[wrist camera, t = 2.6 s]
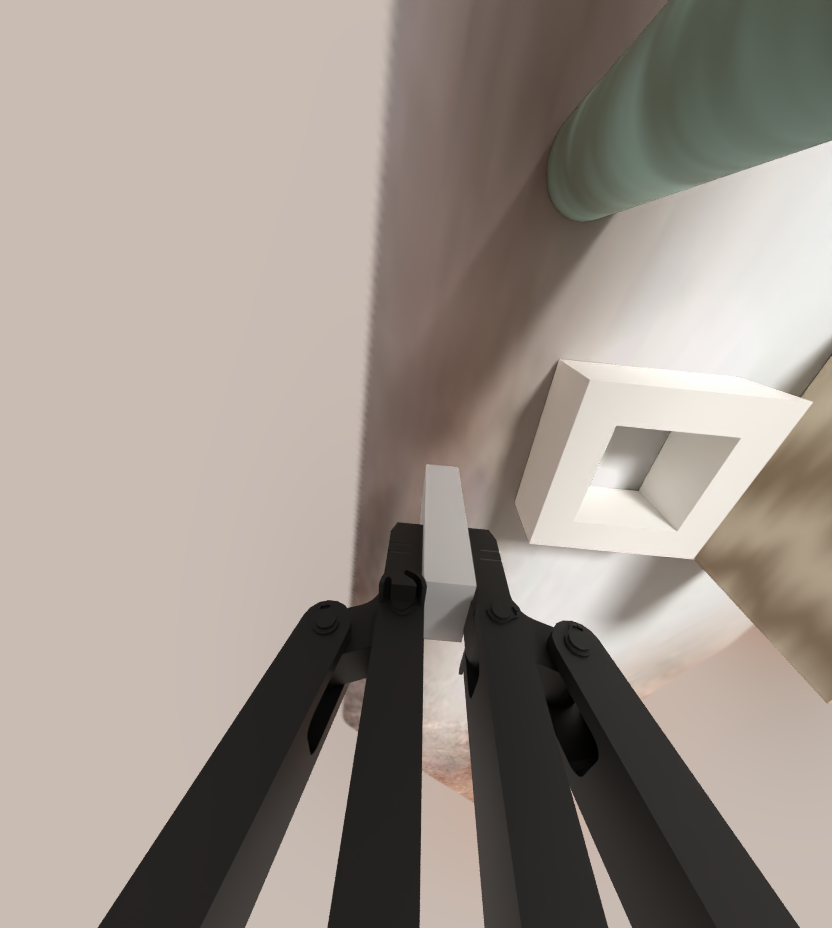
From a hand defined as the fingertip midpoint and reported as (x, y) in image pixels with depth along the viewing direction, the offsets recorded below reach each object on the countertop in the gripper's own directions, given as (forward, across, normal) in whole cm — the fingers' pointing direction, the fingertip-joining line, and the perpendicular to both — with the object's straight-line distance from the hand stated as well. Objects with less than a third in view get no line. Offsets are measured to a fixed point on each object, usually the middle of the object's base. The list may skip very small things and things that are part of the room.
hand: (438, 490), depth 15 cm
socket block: (+6, +11, 0) cm, 13 cm away
